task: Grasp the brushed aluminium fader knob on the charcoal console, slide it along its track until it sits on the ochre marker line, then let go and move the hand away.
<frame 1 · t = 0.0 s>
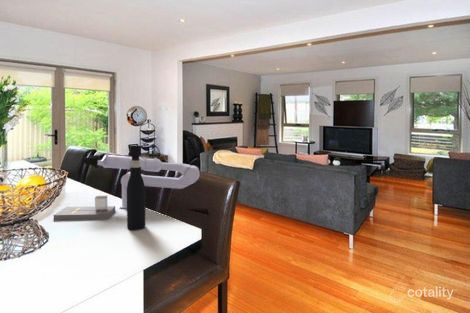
hand: (85, 159, 135), 22 cm above the table, tool horizontal, fingers open, 7 cm apart
fader knob: (101, 202, 126), point 5 cm above the table, slide at 0.0 cm
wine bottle: (136, 227, 112), on the table
fader console: (86, 215, 125), on the table
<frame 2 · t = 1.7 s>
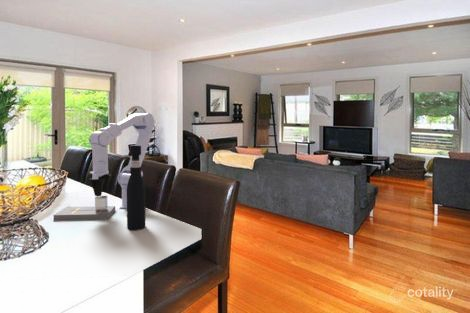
hand: (101, 193, 125), 9 cm above the table, tool pointing down, fingers open, 7 cm apart
nothing on the table moved.
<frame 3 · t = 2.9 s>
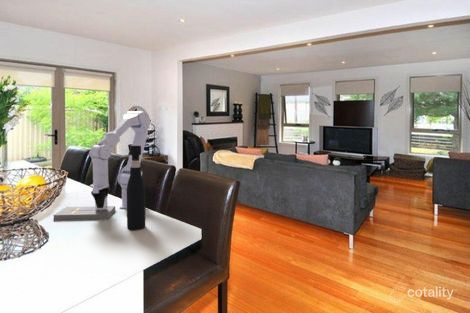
hand: (101, 206, 126), 3 cm above the table, tool pointing down, fingers closed on fader knob, 3 cm apart
fader knob: (101, 202, 126), point 5 cm above the table, slide at 0.0 cm, touching gripper
everything else where it was.
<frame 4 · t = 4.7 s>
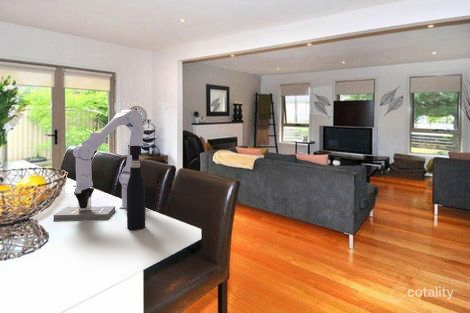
hand: (84, 207, 125), 3 cm above the table, tool pointing down, fingers closed on fader knob, 3 cm apart
fader knob: (84, 203, 125), point 5 cm above the table, slide at 6.4 cm, touching gripper
everything else where it was.
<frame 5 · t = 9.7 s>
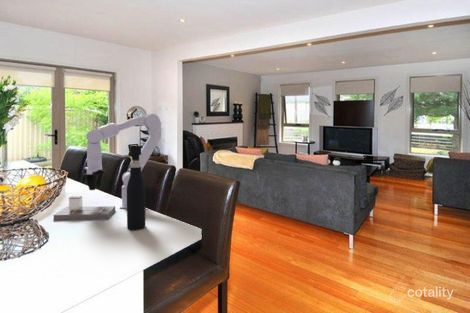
hand: (95, 188, 133), 9 cm above the table, tool pointing down, fingers open, 7 cm apart
fader knob: (75, 203, 124), point 5 cm above the table, slide at 9.9 cm
everything else where it was.
at the end: fader knob slide at 9.9 cm; the gripper is holding nothing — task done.
